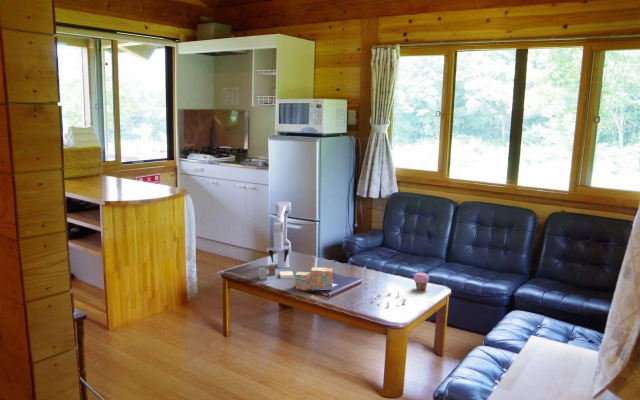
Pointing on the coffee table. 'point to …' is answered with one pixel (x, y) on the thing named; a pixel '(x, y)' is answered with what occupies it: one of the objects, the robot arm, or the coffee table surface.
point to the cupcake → (421, 281)
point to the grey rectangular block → (262, 273)
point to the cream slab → (286, 274)
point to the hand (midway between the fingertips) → (278, 261)
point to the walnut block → (271, 270)
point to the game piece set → (389, 295)
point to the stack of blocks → (315, 279)
